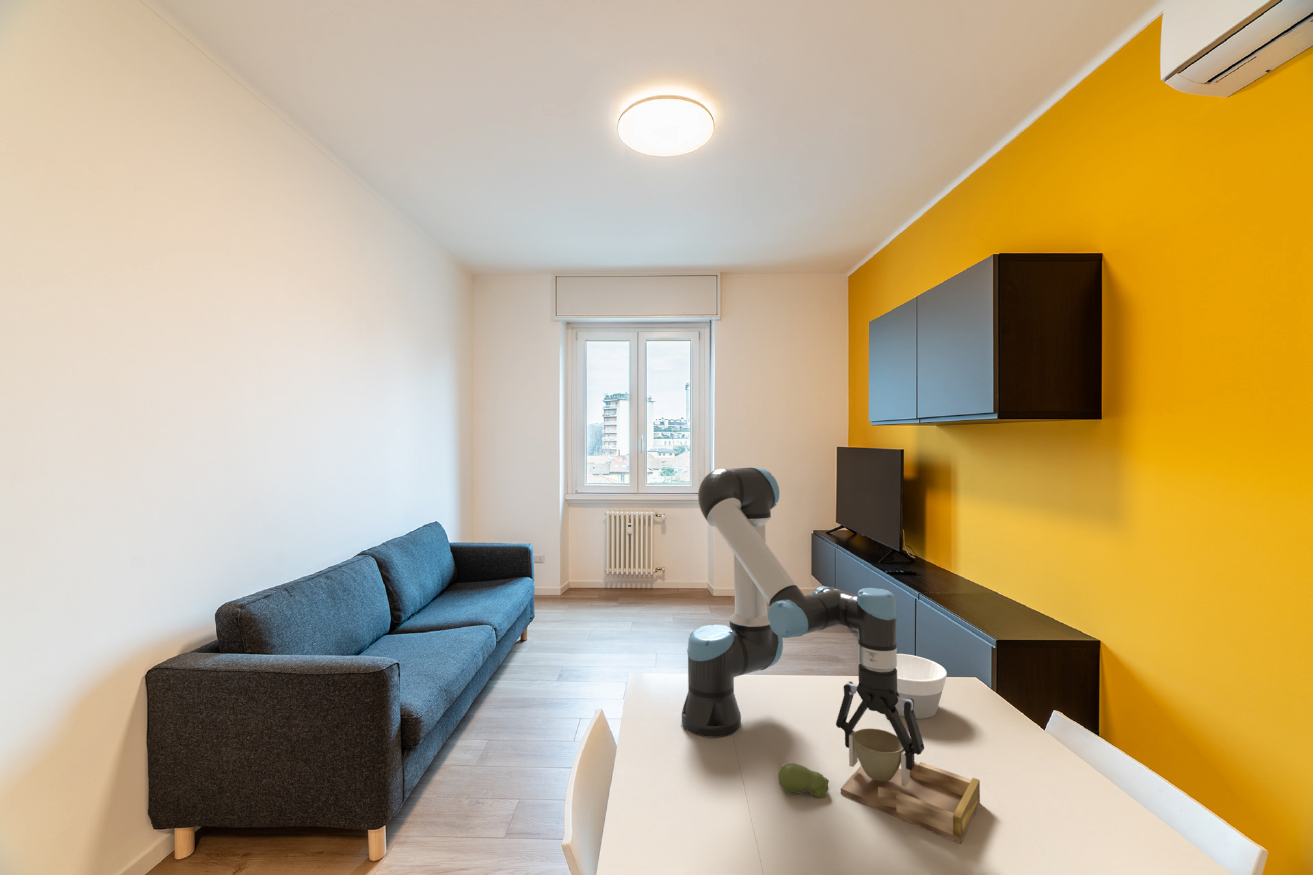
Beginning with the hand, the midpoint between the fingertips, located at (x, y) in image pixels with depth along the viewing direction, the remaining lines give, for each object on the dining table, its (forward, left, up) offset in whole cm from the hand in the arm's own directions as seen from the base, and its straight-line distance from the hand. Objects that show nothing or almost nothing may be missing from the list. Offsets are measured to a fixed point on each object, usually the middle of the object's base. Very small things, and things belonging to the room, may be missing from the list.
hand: (878, 773), depth 116 cm
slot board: (+6, 0, -3) cm, 7 cm away
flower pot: (0, 0, 0) cm, 0 cm away
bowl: (-7, +41, -3) cm, 42 cm away
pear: (-11, -12, -3) cm, 16 cm away
